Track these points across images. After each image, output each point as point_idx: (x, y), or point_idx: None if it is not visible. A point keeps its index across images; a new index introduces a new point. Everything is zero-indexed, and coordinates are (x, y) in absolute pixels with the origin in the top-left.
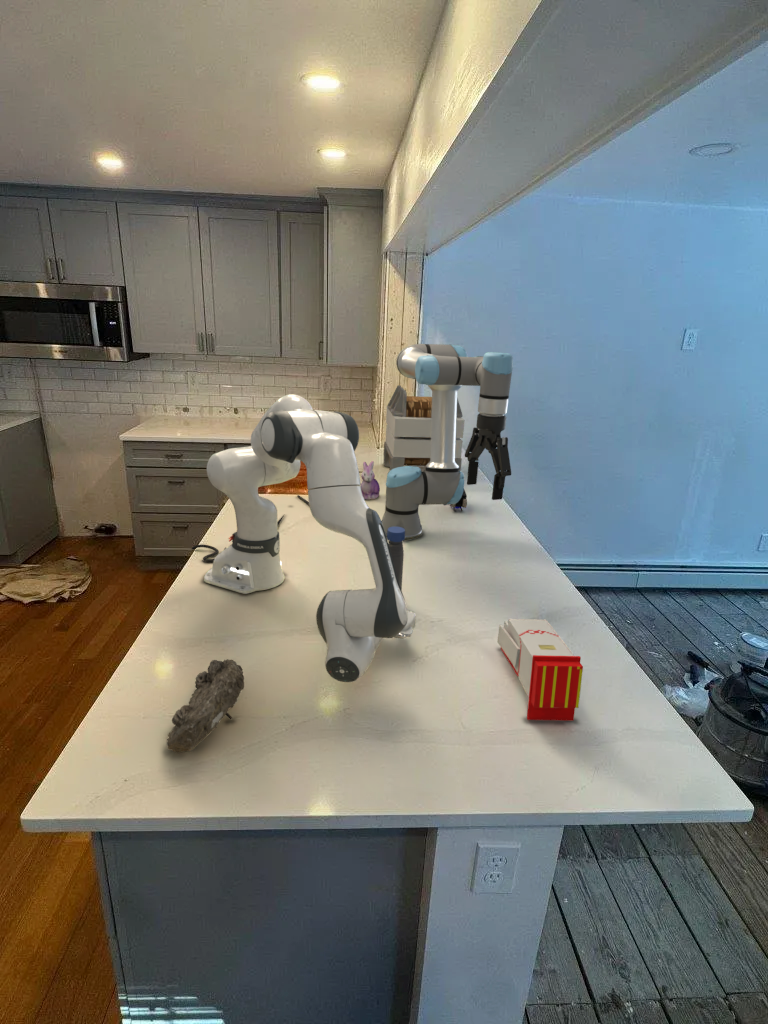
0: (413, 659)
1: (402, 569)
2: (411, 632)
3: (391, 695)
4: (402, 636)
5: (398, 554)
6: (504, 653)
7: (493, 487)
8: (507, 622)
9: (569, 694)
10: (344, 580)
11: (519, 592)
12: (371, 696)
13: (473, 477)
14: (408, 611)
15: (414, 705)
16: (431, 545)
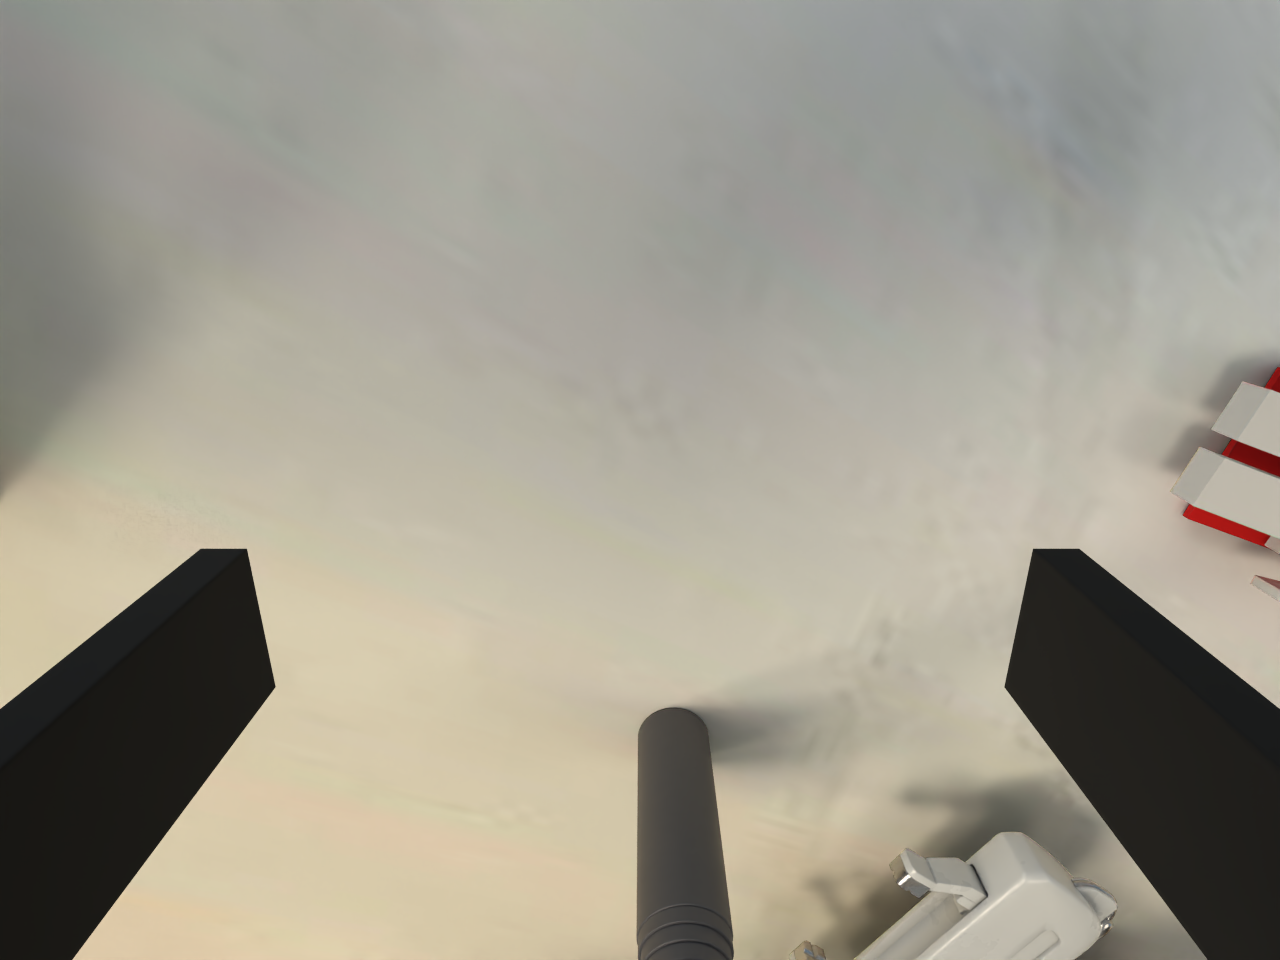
0: (1061, 801)
1: (708, 838)
2: (1108, 895)
3: None
4: (1112, 925)
5: (733, 950)
6: (1247, 540)
7: (1132, 837)
8: (1211, 500)
9: None
10: (448, 838)
11: (799, 110)
12: (1150, 943)
13: (187, 684)
14: (1021, 895)
15: None
16: (70, 318)
